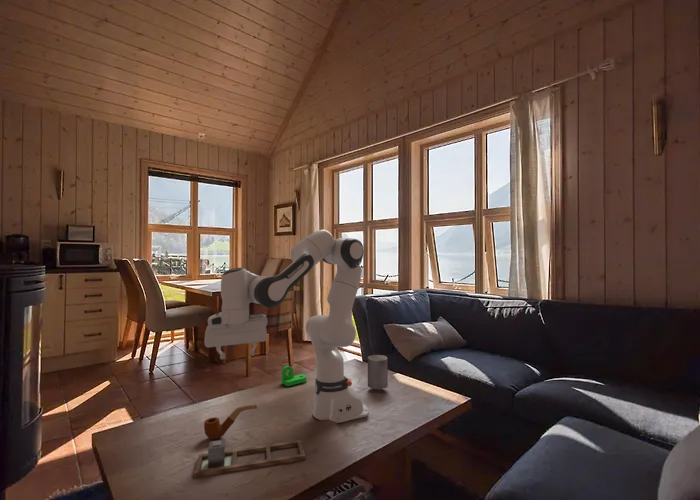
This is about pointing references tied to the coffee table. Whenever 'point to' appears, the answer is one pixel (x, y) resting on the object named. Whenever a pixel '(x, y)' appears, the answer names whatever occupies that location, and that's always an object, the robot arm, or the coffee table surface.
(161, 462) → the coffee table surface
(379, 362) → the pillar candle
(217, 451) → the gray rectangular block
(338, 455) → the coffee table surface
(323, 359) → the robot arm
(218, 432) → the smoking pipe
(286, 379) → the mechanical part
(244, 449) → the divided wooden frame
